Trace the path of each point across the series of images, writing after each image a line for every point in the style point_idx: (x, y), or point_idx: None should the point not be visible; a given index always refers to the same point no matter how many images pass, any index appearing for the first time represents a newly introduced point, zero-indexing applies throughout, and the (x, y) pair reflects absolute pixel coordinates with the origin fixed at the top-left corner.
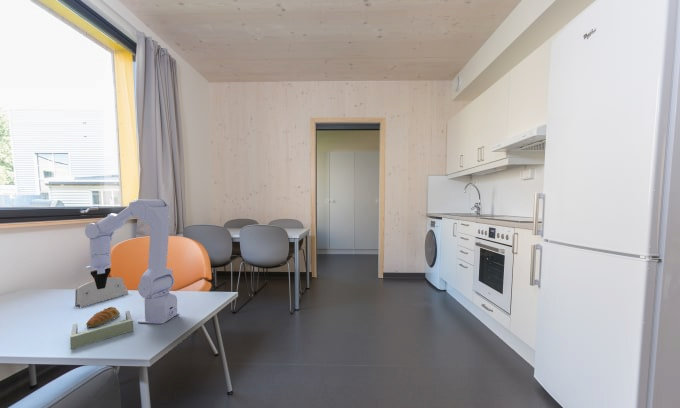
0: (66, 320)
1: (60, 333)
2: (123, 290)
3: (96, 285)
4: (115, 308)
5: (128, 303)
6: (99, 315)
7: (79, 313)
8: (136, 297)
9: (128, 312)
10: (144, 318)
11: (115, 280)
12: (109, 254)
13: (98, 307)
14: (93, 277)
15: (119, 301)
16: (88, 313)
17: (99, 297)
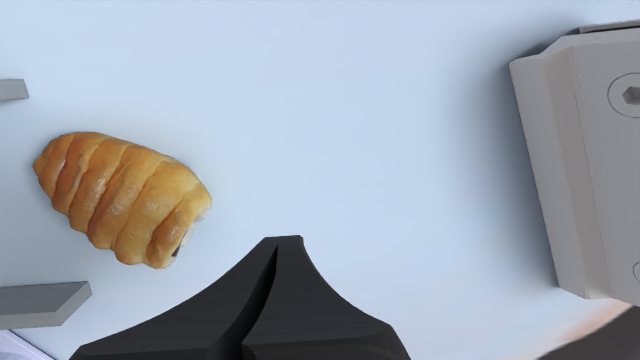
0: (290, 15)
1: (67, 16)
2: (592, 282)
3: (245, 256)
4: (153, 267)
5: (355, 289)
6: (76, 198)
7: (377, 70)
8: (438, 321)
9: (27, 323)
10: (22, 350)
11: None
12: None
13: (413, 158)
14: (149, 321)
15: (438, 250)
16: (334, 117)
17: (562, 163)
